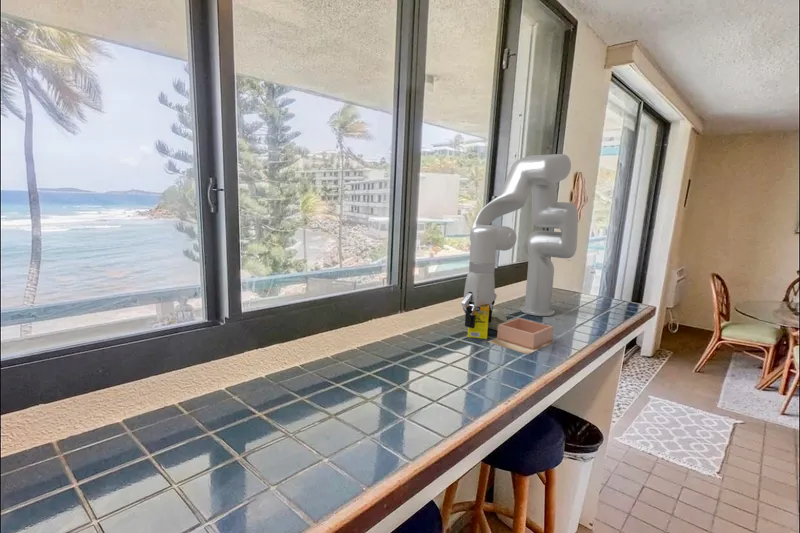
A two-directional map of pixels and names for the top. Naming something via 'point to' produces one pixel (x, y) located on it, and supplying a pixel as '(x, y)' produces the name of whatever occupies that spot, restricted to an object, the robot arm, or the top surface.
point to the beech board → (515, 346)
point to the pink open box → (525, 333)
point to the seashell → (496, 319)
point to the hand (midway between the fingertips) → (478, 324)
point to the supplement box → (480, 322)
